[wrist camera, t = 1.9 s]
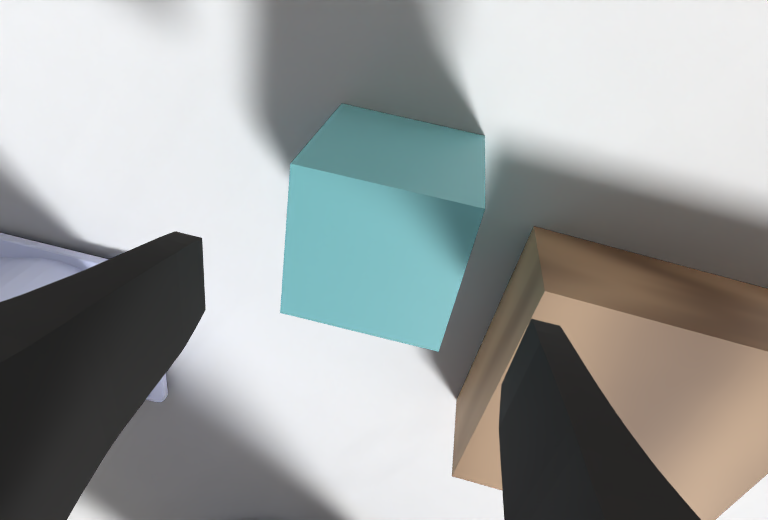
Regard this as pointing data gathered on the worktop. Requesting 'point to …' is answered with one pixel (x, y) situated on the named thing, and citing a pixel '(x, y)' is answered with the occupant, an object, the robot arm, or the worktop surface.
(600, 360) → the tan square block
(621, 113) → the worktop surface
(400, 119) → the teal block
